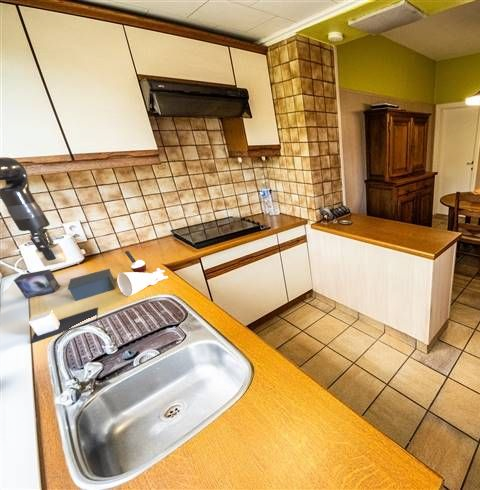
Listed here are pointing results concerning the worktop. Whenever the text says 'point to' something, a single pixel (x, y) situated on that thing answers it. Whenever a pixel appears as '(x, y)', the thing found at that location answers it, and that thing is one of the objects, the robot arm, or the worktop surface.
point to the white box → (44, 322)
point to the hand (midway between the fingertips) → (53, 257)
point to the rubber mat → (67, 324)
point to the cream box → (57, 252)
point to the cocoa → (136, 264)
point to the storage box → (91, 284)
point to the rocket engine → (137, 281)
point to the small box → (37, 283)
